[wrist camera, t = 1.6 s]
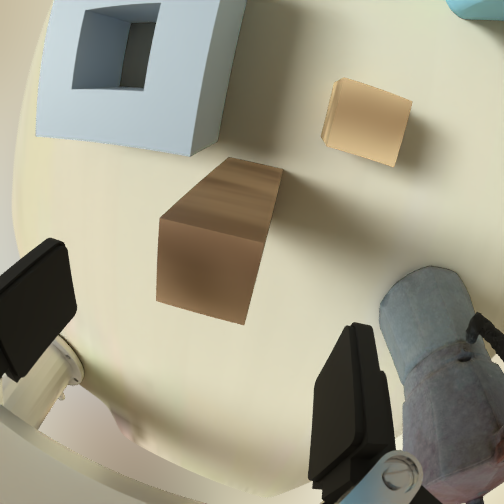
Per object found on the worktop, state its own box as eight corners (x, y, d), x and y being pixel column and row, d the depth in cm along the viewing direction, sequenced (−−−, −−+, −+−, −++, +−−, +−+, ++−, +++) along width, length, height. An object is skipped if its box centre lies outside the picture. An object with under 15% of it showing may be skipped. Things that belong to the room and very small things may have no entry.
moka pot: (370, 367, 29) (385, 553, 12) (368, 232, 23) (447, 506, 5) (452, 351, 27) (500, 518, 10) (473, 217, 21) (623, 409, 3)
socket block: (217, 141, 21) (189, 156, 16) (84, 123, 22) (35, 136, 17) (250, -12, 16) (232, -45, 10) (106, -9, 16) (60, -24, 11)
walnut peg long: (271, 219, 24) (244, 325, 13) (219, 207, 24) (156, 300, 13) (283, 169, 22) (264, 243, 11) (228, 157, 22) (159, 217, 11)
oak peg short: (374, 152, 20) (394, 167, 16) (320, 136, 20) (326, 146, 16) (388, 100, 18) (412, 101, 14) (334, 82, 18) (343, 77, 14)
